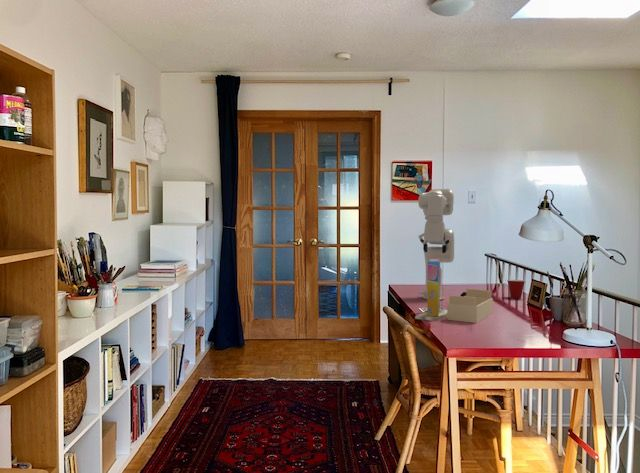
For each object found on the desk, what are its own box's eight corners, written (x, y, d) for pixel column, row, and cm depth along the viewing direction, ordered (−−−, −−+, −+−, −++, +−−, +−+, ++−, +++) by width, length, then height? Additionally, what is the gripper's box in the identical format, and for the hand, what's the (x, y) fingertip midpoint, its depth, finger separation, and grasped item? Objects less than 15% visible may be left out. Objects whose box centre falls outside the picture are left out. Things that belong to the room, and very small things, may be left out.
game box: (438, 317, 253) (438, 261, 252) (427, 316, 255) (427, 261, 254) (439, 309, 274) (440, 258, 272) (429, 309, 275) (429, 258, 274)
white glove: (415, 318, 257) (415, 315, 257) (432, 311, 277) (432, 308, 277) (436, 321, 251) (436, 318, 251) (452, 313, 271) (452, 310, 271)
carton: (447, 319, 255) (447, 295, 254) (465, 310, 279) (465, 288, 278) (477, 322, 247) (477, 298, 246) (492, 313, 271) (492, 290, 270)
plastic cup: (523, 297, 322) (523, 278, 321) (526, 300, 311) (527, 280, 311) (505, 297, 324) (505, 278, 324) (508, 299, 313) (508, 280, 313)
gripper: (416, 219, 264) (416, 252, 264) (449, 219, 254) (448, 253, 255) (421, 218, 270) (421, 251, 271) (454, 219, 260) (453, 252, 261)
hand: (434, 252), depth 263 cm, fingers open, 9 cm apart
